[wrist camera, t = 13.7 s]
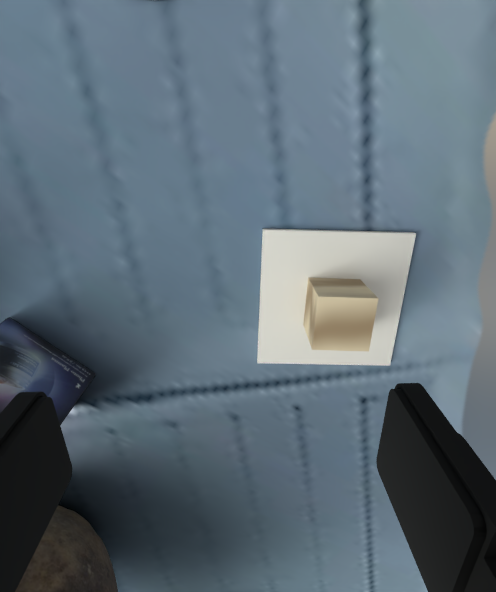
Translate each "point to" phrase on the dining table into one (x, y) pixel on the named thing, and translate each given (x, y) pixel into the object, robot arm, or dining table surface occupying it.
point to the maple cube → (339, 314)
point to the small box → (38, 369)
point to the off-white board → (329, 264)
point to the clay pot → (69, 558)
